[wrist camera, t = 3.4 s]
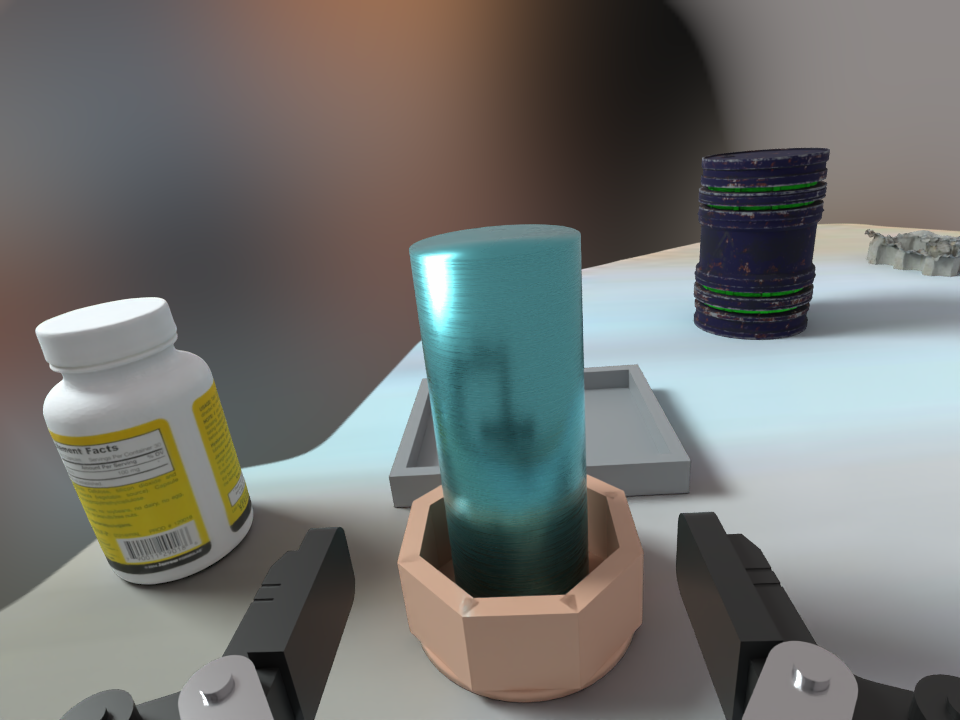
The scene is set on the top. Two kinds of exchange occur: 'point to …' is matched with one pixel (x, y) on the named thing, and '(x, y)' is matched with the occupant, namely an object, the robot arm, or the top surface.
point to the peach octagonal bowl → (525, 608)
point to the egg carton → (916, 252)
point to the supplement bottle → (144, 440)
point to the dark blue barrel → (758, 241)
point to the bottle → (508, 403)
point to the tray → (609, 440)
